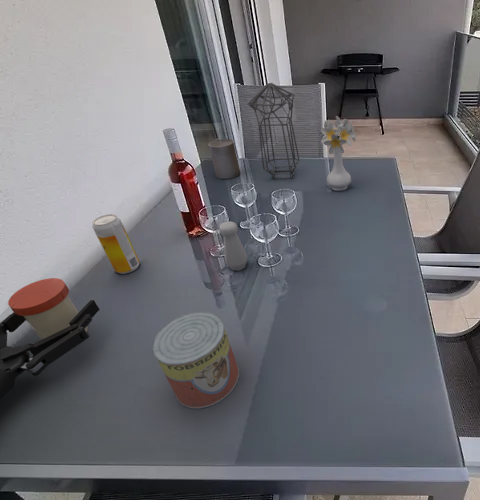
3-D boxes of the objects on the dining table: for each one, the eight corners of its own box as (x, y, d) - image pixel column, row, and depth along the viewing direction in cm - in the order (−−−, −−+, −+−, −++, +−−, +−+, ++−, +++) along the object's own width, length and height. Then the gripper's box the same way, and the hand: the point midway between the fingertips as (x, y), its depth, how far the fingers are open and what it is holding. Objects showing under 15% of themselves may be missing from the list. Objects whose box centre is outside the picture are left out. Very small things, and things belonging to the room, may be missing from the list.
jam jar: (36, 345, 72) (3, 304, 66) (68, 319, 78) (41, 279, 72) (65, 352, 71) (34, 310, 64) (96, 325, 77) (71, 284, 70)
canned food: (195, 421, 58) (172, 377, 51) (163, 383, 64) (139, 339, 57) (251, 376, 65) (238, 332, 58) (218, 345, 71) (202, 302, 64)
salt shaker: (222, 270, 92) (210, 228, 85) (235, 258, 96) (224, 217, 89) (241, 274, 90) (230, 231, 83) (253, 262, 95) (244, 220, 87)
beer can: (125, 260, 97) (102, 212, 88) (145, 262, 96) (124, 214, 87) (110, 274, 92) (84, 225, 83) (131, 275, 91) (107, 226, 82)
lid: (1, 311, 66) (-5, 304, 65) (45, 282, 73) (41, 275, 72) (38, 319, 64) (32, 311, 63) (79, 288, 71) (75, 281, 70)
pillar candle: (233, 168, 152) (225, 134, 143) (244, 174, 146) (237, 139, 137) (212, 175, 147) (202, 139, 138) (222, 181, 141) (213, 144, 132)
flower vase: (325, 200, 124) (320, 129, 110) (321, 180, 139) (316, 115, 125) (361, 197, 126) (361, 126, 111) (354, 177, 141) (352, 112, 126)
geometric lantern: (299, 182, 138) (288, 86, 118) (260, 183, 138) (242, 87, 118) (304, 167, 151) (294, 78, 131) (268, 168, 151) (253, 79, 131)
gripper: (-86, 407, 59) (17, 316, 76) (56, 410, 58) (128, 317, 75) (-121, 380, 55) (-3, 290, 72) (31, 383, 53) (113, 291, 71)
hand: (64, 304), depth 74 cm, fingers open, 13 cm apart
